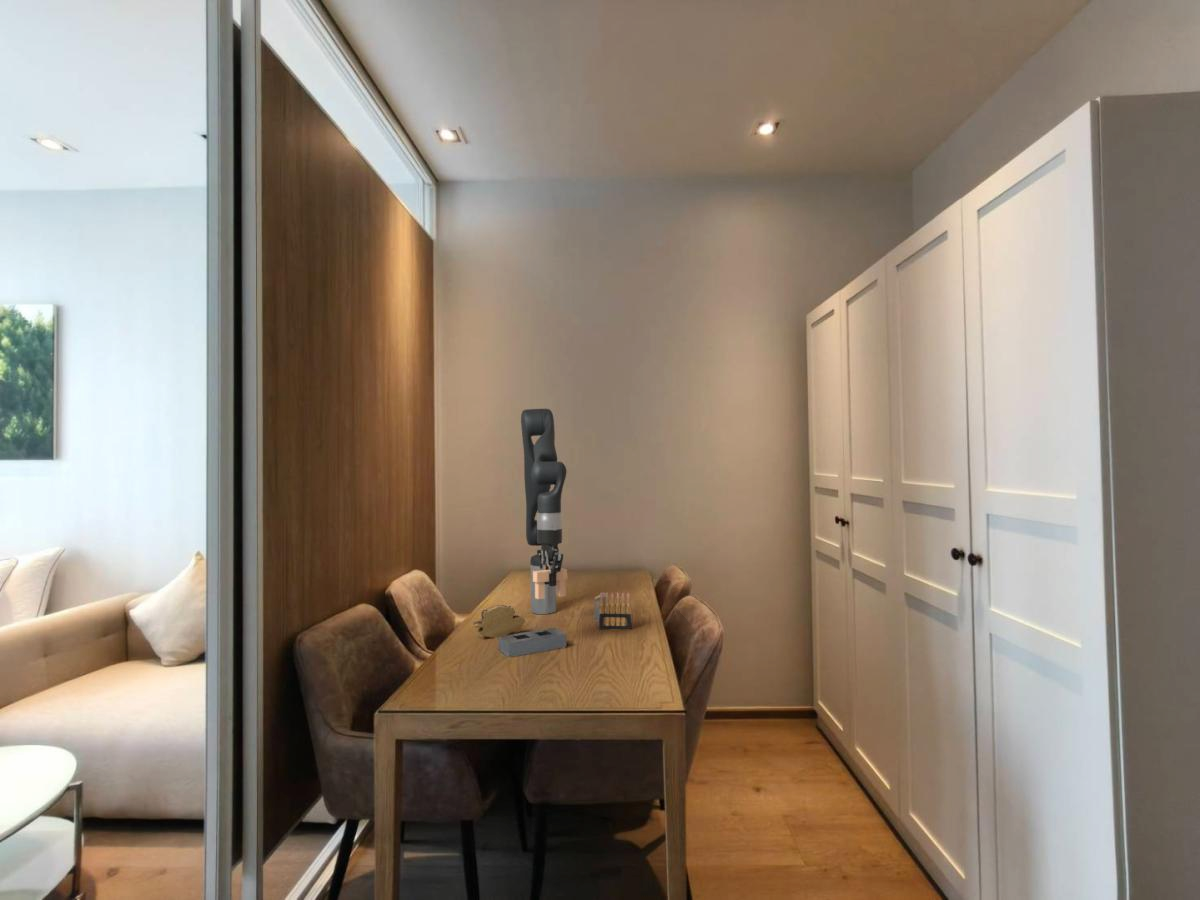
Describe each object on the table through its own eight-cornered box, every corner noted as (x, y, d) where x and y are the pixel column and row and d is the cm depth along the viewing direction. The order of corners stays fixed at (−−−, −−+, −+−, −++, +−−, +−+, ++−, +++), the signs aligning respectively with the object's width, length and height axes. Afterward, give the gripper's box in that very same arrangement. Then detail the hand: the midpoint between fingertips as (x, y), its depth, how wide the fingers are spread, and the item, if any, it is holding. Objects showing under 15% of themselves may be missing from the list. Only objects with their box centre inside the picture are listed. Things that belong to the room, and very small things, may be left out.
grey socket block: (498, 650, 187) (498, 636, 187) (554, 640, 196) (554, 627, 196) (509, 657, 180) (508, 643, 180) (566, 647, 189) (566, 633, 189)
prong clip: (533, 598, 192) (532, 571, 192) (562, 594, 197) (562, 568, 197) (537, 599, 189) (537, 572, 189) (567, 595, 194) (567, 569, 194)
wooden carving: (519, 631, 207) (519, 600, 208) (525, 634, 204) (525, 602, 204) (471, 639, 199) (471, 607, 199) (477, 642, 195) (476, 609, 195)
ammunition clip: (632, 628, 209) (631, 591, 209) (631, 629, 207) (631, 592, 207) (599, 627, 210) (599, 591, 210) (598, 629, 208) (598, 592, 209)
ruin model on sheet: (603, 622, 219) (602, 593, 219) (594, 622, 219) (594, 593, 219) (609, 614, 230) (609, 587, 230) (601, 614, 230) (600, 587, 230)
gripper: (528, 526, 198) (529, 582, 197) (548, 530, 186) (549, 590, 185) (550, 525, 201) (551, 580, 201) (571, 528, 189) (572, 587, 189)
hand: (550, 584), depth 193 cm, fingers closed on prong clip, 3 cm apart
